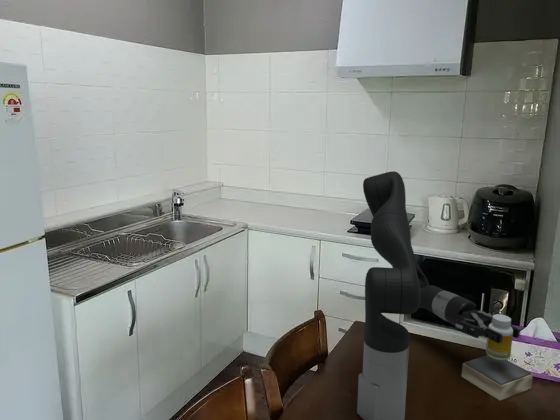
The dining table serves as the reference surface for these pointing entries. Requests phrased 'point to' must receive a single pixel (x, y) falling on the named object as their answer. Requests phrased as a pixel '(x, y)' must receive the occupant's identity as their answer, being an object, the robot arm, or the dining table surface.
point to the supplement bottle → (502, 349)
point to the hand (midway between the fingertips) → (509, 336)
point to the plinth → (497, 376)
